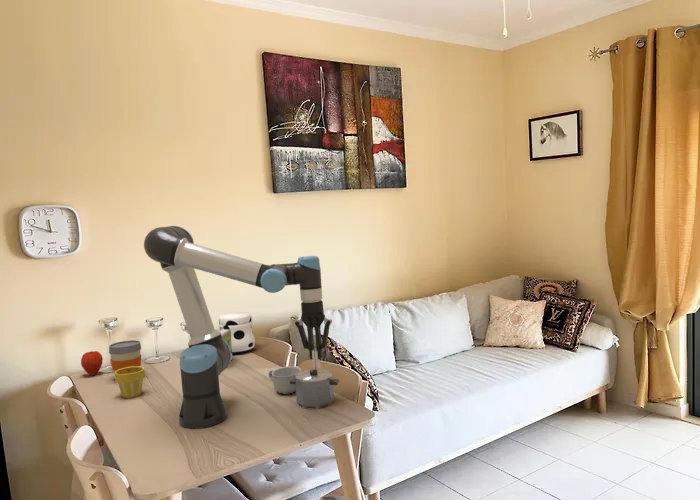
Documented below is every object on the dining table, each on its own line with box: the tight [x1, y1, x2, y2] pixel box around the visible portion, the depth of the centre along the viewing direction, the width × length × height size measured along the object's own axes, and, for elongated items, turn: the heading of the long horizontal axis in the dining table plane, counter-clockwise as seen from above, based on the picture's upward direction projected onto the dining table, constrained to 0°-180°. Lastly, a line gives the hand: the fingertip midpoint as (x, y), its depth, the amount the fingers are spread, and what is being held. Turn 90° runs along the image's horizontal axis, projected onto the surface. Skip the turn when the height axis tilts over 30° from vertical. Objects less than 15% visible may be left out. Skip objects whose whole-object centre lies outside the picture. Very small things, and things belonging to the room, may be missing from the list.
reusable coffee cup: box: [108, 339, 142, 374], centre depth 227 cm, size 13×13×15 cm
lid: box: [296, 368, 333, 383], centre depth 185 cm, size 13×13×2 cm
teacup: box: [268, 365, 302, 395], centre depth 200 cm, size 14×11×8 cm
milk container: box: [218, 311, 256, 355], centre depth 263 cm, size 17×17×18 cm
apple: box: [80, 350, 104, 376], centre depth 235 cm, size 9×8×11 cm
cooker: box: [290, 374, 340, 409], centre depth 186 cm, size 13×17×9 cm
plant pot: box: [114, 366, 146, 399], centre depth 205 cm, size 10×10×10 cm
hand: (316, 368), depth 187 cm, fingers closed
